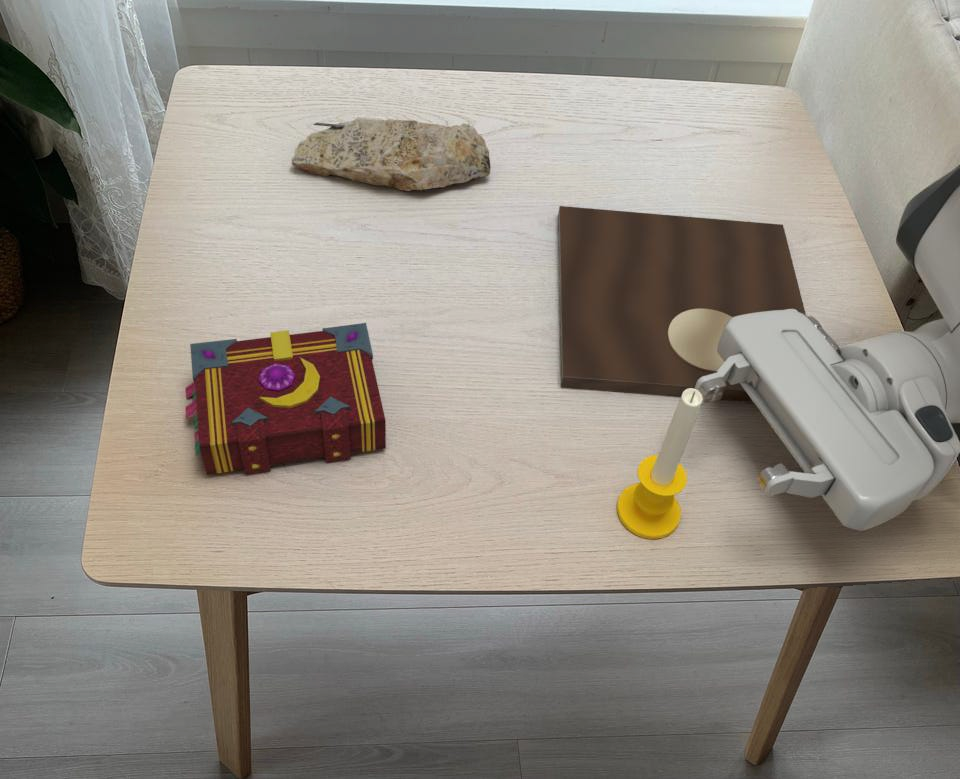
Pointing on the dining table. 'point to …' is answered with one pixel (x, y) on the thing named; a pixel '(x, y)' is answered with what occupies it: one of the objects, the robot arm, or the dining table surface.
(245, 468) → the decorative book
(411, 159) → the stone
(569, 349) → the board
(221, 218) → the dining table surface
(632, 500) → the candle
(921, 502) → the dining table surface
